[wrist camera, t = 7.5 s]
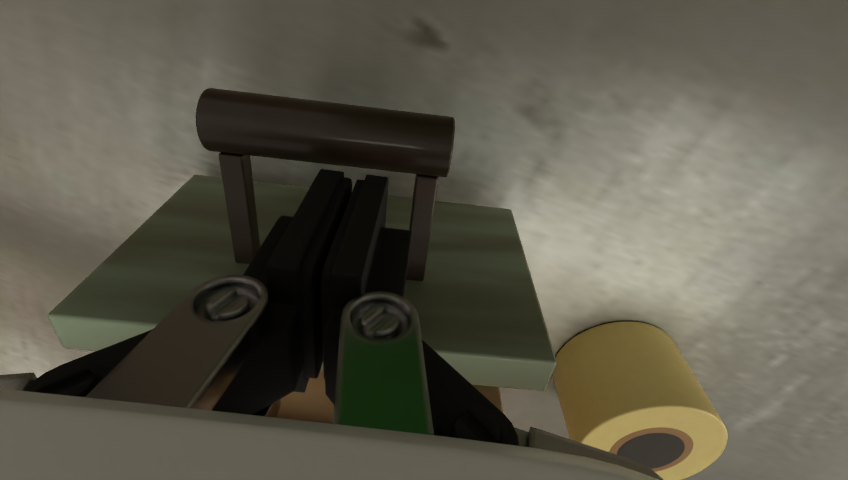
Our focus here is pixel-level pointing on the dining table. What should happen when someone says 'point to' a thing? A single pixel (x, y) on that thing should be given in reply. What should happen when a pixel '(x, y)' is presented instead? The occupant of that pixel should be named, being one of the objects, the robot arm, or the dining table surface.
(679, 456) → the tape roll
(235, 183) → the drawer
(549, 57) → the dining table surface
